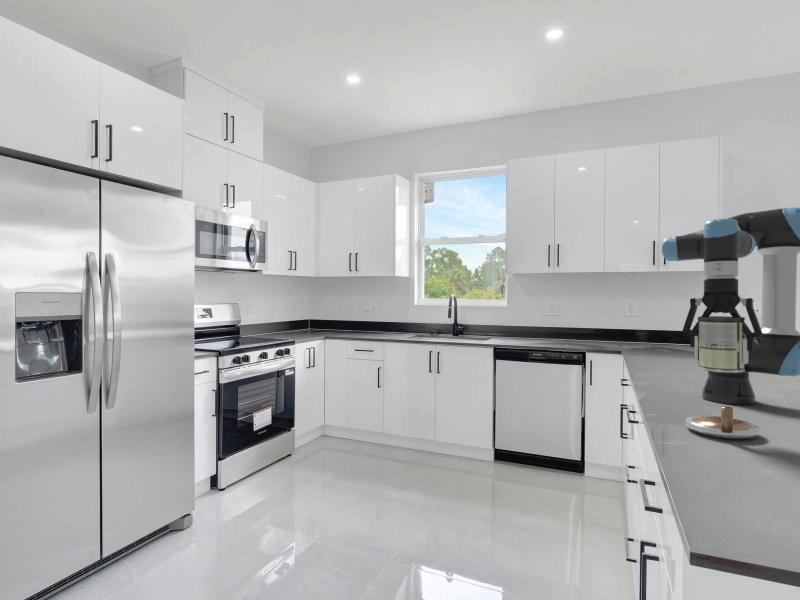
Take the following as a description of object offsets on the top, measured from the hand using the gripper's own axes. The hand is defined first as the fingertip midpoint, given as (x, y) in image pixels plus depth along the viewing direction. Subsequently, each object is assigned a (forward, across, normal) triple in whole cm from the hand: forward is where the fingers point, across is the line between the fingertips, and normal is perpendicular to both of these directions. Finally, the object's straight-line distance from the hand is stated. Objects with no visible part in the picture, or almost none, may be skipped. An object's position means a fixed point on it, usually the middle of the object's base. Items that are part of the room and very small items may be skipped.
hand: (720, 361), depth 123 cm
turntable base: (+19, 0, 0) cm, 19 cm away
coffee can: (+2, 0, 0) cm, 2 cm away
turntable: (+18, 0, 0) cm, 18 cm away
